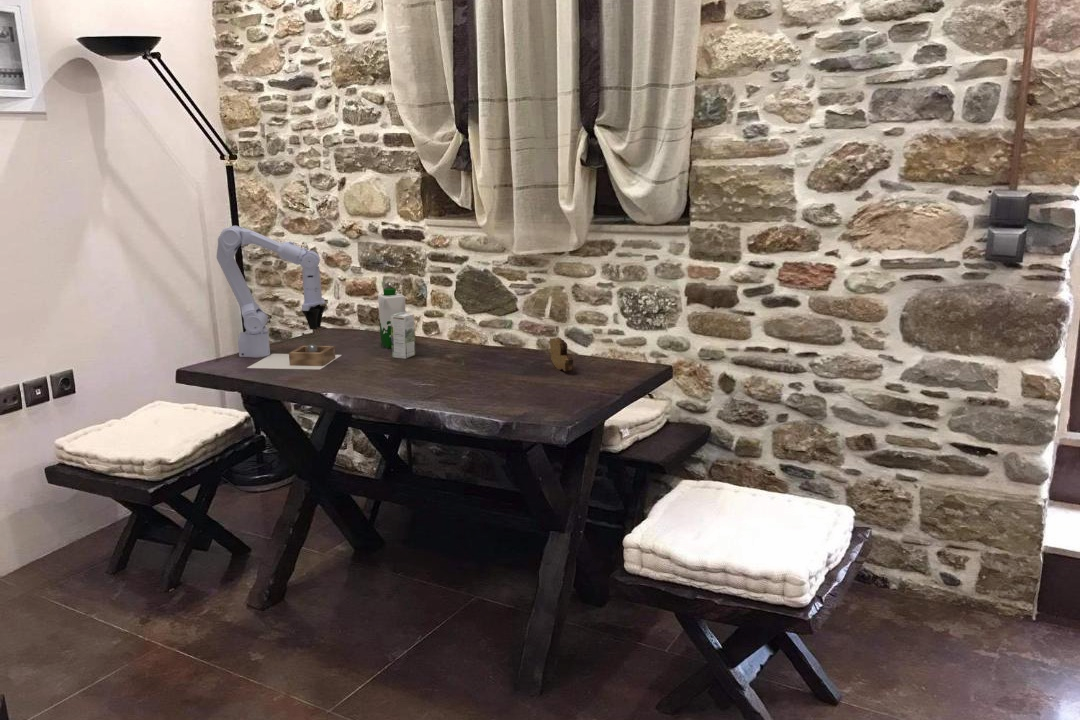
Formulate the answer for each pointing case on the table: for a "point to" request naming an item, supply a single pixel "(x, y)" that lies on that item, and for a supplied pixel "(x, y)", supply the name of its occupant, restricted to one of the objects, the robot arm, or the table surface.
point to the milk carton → (389, 313)
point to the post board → (285, 361)
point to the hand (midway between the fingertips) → (315, 328)
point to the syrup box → (403, 335)
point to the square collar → (312, 356)
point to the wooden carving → (560, 354)
